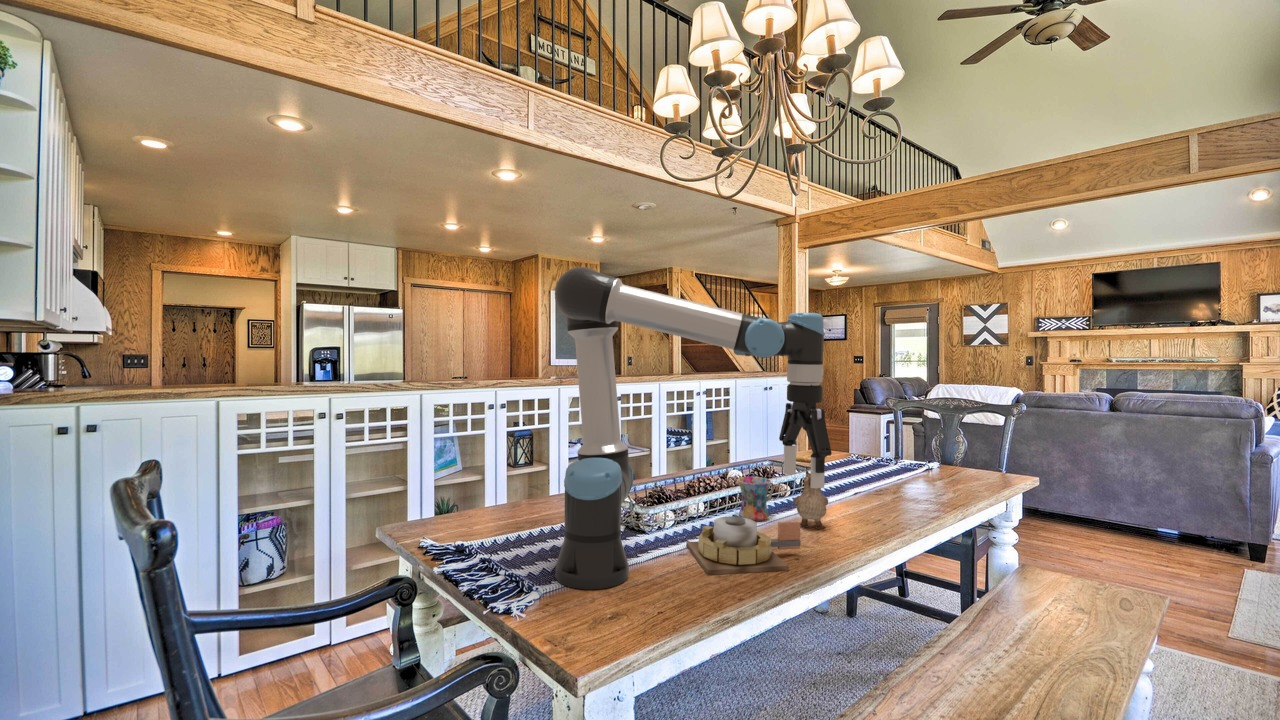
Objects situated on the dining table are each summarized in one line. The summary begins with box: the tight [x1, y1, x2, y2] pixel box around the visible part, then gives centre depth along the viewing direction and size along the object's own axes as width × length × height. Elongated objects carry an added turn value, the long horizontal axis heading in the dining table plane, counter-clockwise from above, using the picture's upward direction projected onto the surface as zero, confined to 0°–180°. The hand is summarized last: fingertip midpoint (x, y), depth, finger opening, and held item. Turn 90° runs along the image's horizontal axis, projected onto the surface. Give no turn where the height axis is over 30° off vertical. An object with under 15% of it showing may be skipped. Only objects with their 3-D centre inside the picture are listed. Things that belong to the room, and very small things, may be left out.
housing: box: [685, 516, 789, 576], centre depth 136 cm, size 18×19×9 cm
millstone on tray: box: [698, 521, 802, 565], centre depth 136 cm, size 24×16×6 cm
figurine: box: [792, 470, 829, 530], centre depth 160 cm, size 9×10×15 cm
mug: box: [737, 476, 775, 522], centre depth 168 cm, size 12×9×11 cm
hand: (802, 480), depth 131 cm, fingers open, 13 cm apart
